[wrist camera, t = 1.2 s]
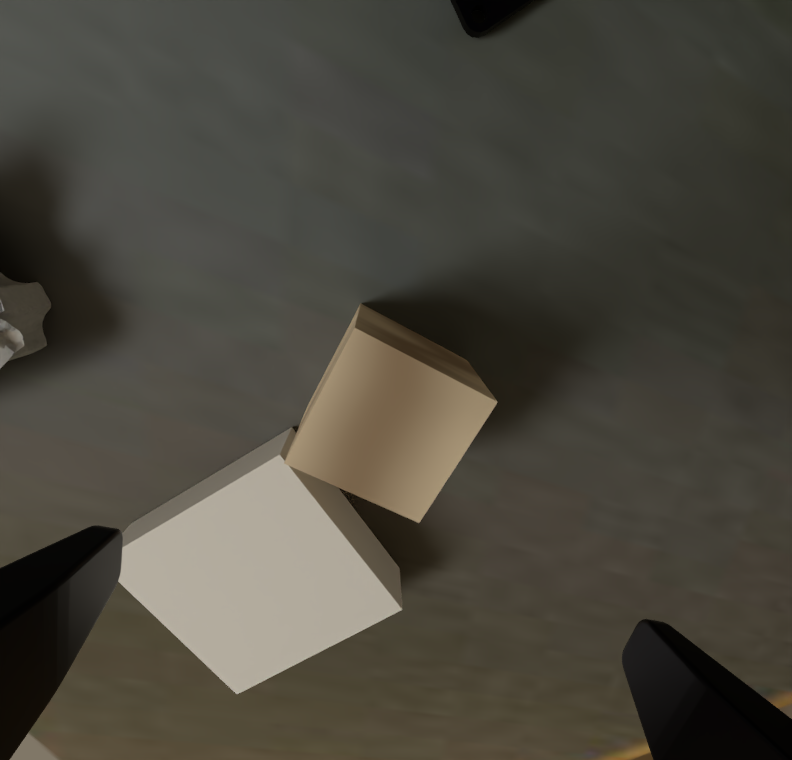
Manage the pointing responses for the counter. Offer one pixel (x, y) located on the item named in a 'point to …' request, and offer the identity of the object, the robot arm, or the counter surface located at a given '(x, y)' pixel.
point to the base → (259, 567)
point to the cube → (390, 416)
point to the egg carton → (21, 318)
